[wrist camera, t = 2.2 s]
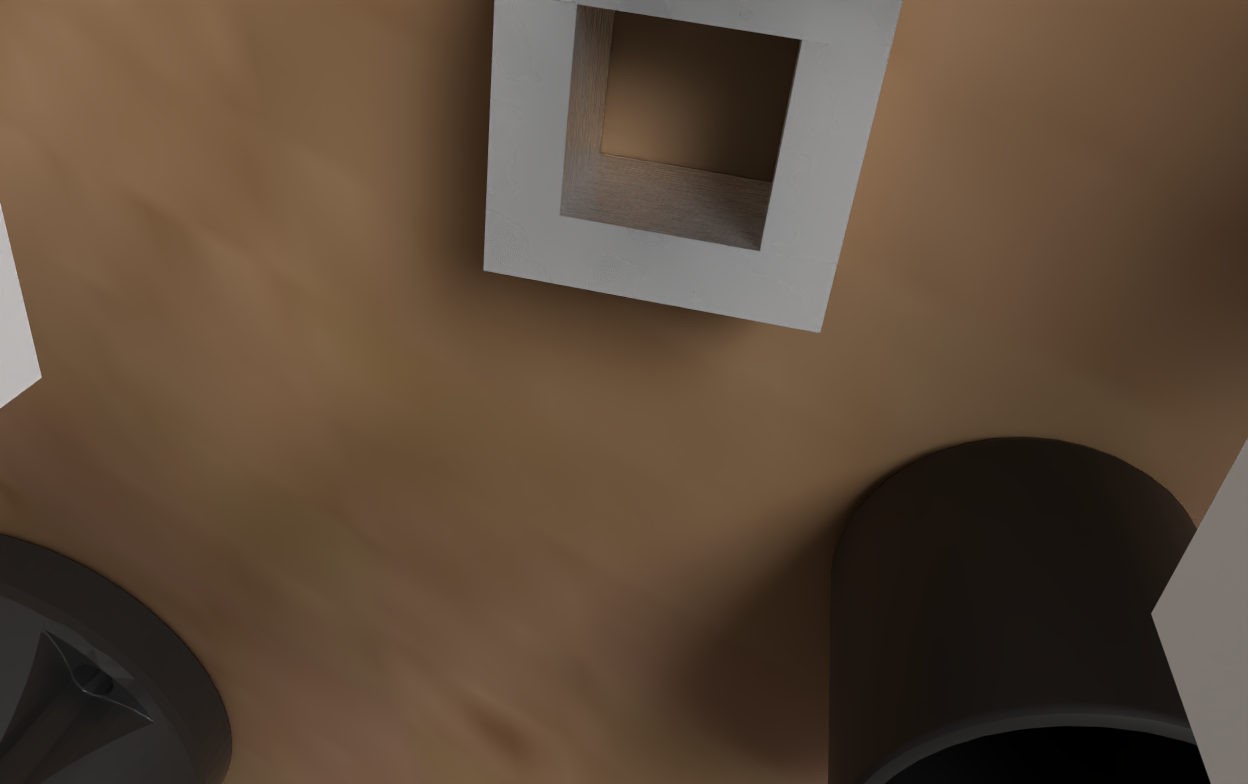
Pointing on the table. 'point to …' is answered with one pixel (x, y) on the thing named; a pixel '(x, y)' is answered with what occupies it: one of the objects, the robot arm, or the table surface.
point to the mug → (1008, 624)
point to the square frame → (672, 195)
